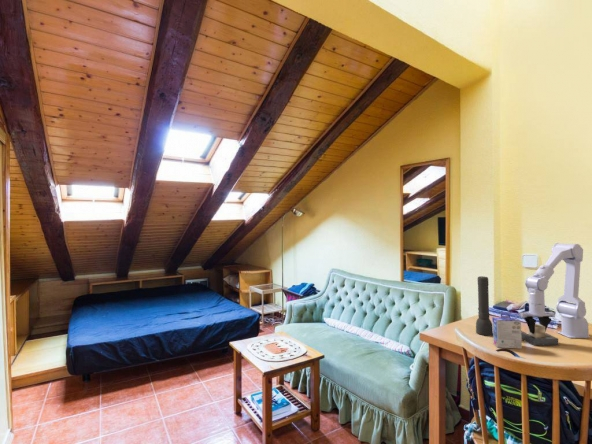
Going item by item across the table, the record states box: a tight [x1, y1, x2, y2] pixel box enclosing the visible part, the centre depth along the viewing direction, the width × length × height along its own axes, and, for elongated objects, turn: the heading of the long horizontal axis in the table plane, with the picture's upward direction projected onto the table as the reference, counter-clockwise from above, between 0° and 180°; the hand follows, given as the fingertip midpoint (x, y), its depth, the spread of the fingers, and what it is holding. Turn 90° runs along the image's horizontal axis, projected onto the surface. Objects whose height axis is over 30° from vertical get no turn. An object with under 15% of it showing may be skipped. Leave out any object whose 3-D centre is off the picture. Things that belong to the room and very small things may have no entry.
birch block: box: [528, 323, 546, 338], centre depth 145 cm, size 4×4×5 cm
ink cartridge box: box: [491, 312, 523, 350], centre depth 140 cm, size 10×6×14 cm, turn 78°
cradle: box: [521, 330, 559, 347], centre depth 145 cm, size 10×10×3 cm
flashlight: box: [475, 276, 493, 337], centre depth 156 cm, size 7×28×7 cm
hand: (537, 332), depth 145 cm, fingers closed on birch block, 4 cm apart
